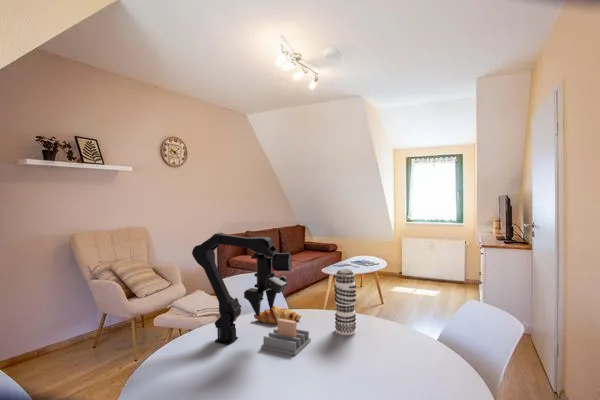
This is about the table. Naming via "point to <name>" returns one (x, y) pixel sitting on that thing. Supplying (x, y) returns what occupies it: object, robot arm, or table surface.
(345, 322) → the black-white patterned cylinder
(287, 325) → the terracotta plate
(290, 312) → the croissant
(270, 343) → the dish rack
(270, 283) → the robot arm
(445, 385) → the table surface
